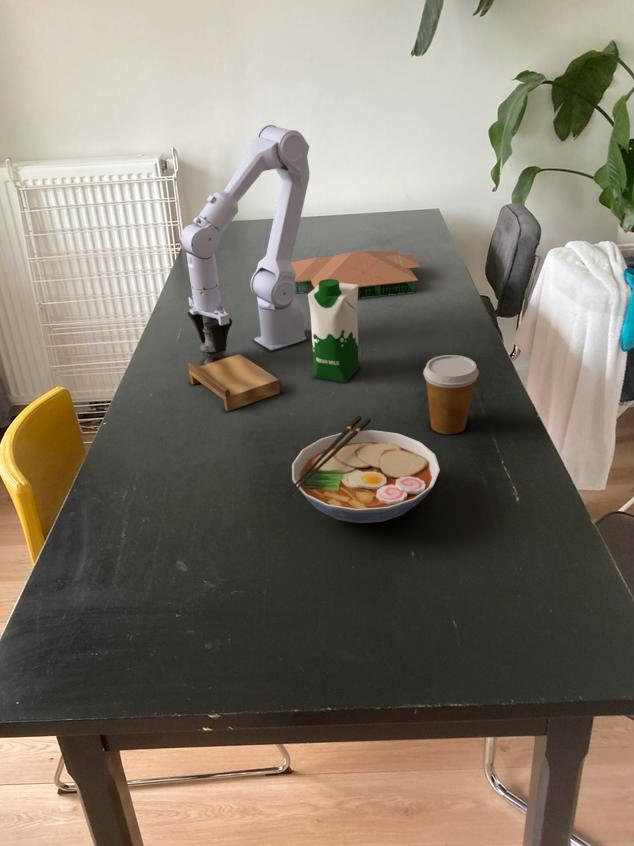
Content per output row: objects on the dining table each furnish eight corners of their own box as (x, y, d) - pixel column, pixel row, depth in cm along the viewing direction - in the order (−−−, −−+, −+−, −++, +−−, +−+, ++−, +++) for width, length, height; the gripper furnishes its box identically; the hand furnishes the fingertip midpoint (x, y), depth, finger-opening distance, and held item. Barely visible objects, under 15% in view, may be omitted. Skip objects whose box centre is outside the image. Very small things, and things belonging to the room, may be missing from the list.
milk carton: (308, 379, 166) (302, 284, 154) (326, 361, 172) (321, 269, 161) (348, 385, 162) (345, 289, 151) (364, 366, 169) (362, 272, 157)
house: (428, 291, 201) (429, 259, 197) (298, 306, 199) (296, 273, 194) (407, 262, 220) (407, 232, 215) (287, 275, 218) (285, 244, 213)
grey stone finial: (224, 367, 173) (217, 314, 166) (198, 366, 174) (190, 313, 167) (232, 355, 177) (225, 303, 170) (206, 354, 179) (199, 302, 172)
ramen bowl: (394, 572, 114) (394, 526, 110) (262, 528, 125) (257, 484, 120) (464, 485, 131) (467, 441, 126) (342, 452, 142) (340, 411, 137)
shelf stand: (240, 366, 173) (238, 347, 170) (279, 393, 162) (278, 372, 159) (190, 383, 168) (187, 363, 165) (227, 411, 157) (224, 390, 154)
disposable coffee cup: (478, 416, 149) (483, 356, 142) (470, 441, 142) (474, 380, 135) (427, 410, 152) (429, 351, 145) (416, 435, 145) (418, 374, 138)
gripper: (172, 280, 169) (182, 341, 177) (204, 299, 159) (212, 362, 167) (202, 272, 172) (210, 332, 180) (235, 290, 162) (242, 353, 170)
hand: (213, 346), depth 174 cm, fingers closed on grey stone finial, 6 cm apart
